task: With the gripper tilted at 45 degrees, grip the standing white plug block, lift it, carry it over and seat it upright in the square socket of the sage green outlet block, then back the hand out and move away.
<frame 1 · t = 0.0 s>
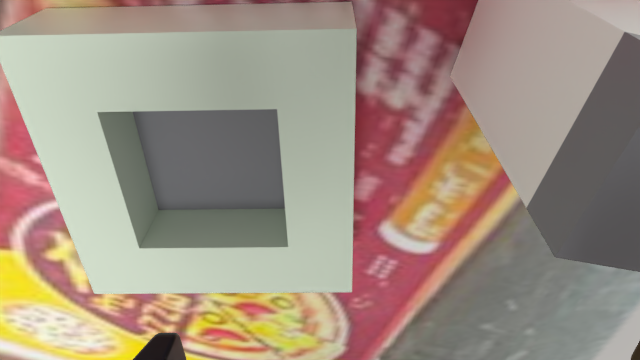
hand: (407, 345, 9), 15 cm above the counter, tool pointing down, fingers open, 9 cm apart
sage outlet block: (219, 140, 24), on the counter
white plug block: (525, 33, 20), on the counter
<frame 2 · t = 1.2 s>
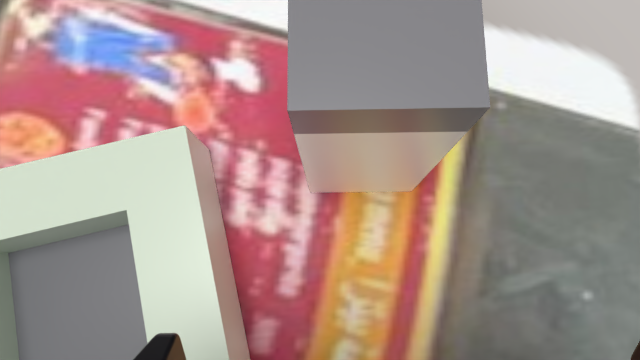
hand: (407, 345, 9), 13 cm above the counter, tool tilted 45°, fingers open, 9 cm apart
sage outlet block: (101, 308, 23), on the counter
white plug block: (359, 143, 24), on the counter
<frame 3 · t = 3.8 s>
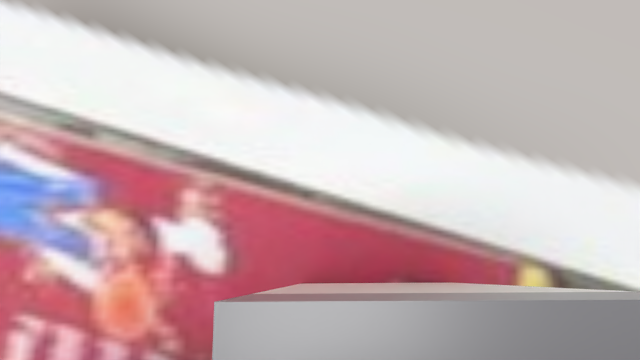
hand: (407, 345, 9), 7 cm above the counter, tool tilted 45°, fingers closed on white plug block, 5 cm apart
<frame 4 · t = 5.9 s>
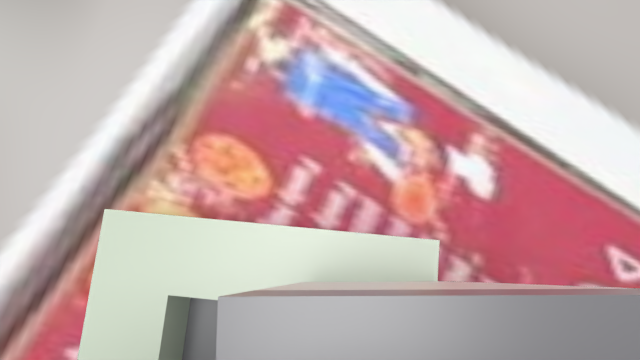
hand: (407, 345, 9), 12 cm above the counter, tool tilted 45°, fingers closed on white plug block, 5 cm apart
white plug block: (378, 359, 15), point 6 cm above the counter, touching gripper
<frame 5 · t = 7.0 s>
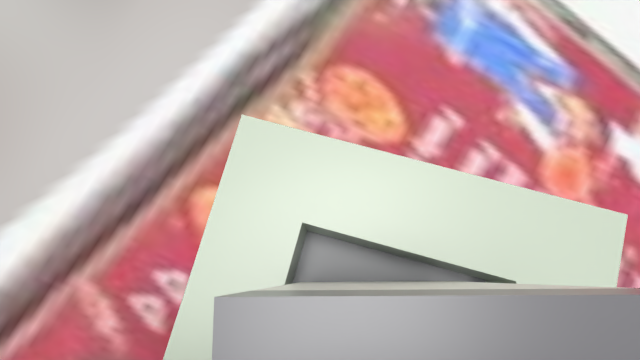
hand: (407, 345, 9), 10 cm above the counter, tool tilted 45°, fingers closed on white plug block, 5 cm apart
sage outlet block: (370, 343, 18), on the counter
white plug block: (377, 359, 15), point 3 cm above the counter, touching gripper
when the fingers open (9 cm above the counter, at t = 7.5 s): white plug block drops 1 cm, resting on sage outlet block.
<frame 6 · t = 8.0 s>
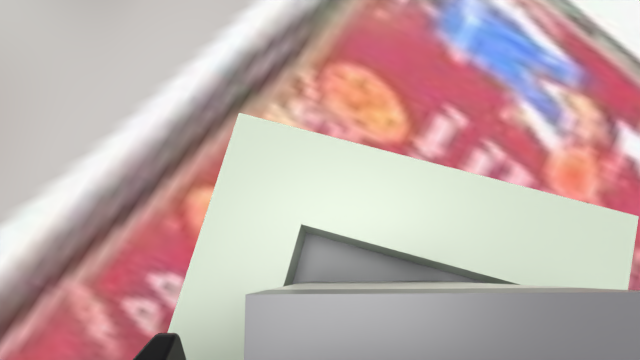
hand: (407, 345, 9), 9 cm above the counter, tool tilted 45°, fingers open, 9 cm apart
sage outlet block: (371, 349, 18), on the counter
white plug block: (374, 353, 17), point 1 cm above the counter, touching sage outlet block
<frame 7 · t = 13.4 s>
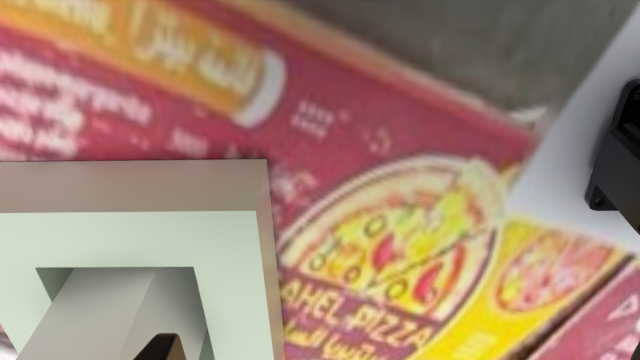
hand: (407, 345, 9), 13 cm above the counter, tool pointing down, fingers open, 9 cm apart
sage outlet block: (158, 262, 26), on the counter
white plug block: (152, 275, 25), point 1 cm above the counter, touching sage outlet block
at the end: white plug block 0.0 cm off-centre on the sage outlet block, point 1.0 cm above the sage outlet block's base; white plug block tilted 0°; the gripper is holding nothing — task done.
